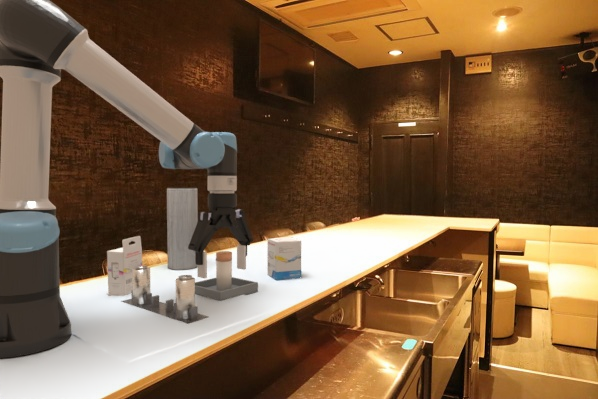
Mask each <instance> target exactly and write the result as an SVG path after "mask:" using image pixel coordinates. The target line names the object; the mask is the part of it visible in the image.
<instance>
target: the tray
mask: <svg viewBox="0 0 598 399" xmlns="http://www.w3.org/2000/svg"><path fill="white" fill-rule="evenodd" d="M258 292H259V283H258V281H253V280H248V279H242V278H238V277H234V276H232V289H228V290H224V291H217V290H216V277H211V278H209V279H208V278H207V279H204V280H200V281H195V296H198V297H199V296H200V297H204V298H208V299H211V300H215V301H220V302H222V301H225V300H229V299H232V298H233V299H234V298H237V297H240V296H247V295H250V294H255V293H258Z"/></svg>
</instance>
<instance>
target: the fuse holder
mask: <svg viewBox="0 0 598 399" xmlns="http://www.w3.org/2000/svg"><path fill="white" fill-rule="evenodd" d="M132 281H133V290H132V293H131V298H129V299H124V300H121V301H120V302H121V303H125V304H126V305H127V304H128V305H131V306H133V307H136V308H140V309H142V310H145V311H148V312H151V313H154V314H157V315H161V316H163V317H166V318H169V319H173V320H175V321H178V322H181V323H184V324H188V325H189V324H192V323H195V322H198V321H201V320H204V319H208V318H209V316H208V315H204V314H201V313H198V312H199V310H198V306H196V294H195V282H196V279H195V277H193V276H192V275H190V274H181V275H179V276H178V277H177V278H175V302H174V299H173V298H171V299H166V300H165V302H161V301H160V295H158V294H156V295H153V293H151V268H150V267H148V265H145V264H142V265H139V266H135V268H134V269H132Z"/></svg>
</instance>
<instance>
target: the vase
mask: <svg viewBox="0 0 598 399" xmlns="http://www.w3.org/2000/svg"><path fill="white" fill-rule="evenodd" d="M198 200H199V198H198V188H197V187H167V188H166V220H167V221H166V222H167V223H166V225H167V226H166V229H167V232H166V234H167V235H166V237H167V242H166V244H167V247H166V248H167V268H168V269H170V270H174V271H175V270H178V271H180V270H182V271H184V270H191V269H196V268H198V267H197V265H196V263H195V261H196V260H195V251H193V250H189V249H188V246H189V243H190V241H191V238H192V235H193V233H194V230H195V228H196V225H197V222H198V216H199V212H198V208H199V206H198V205H199V203H198Z"/></svg>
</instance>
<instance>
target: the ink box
mask: <svg viewBox="0 0 598 399" xmlns="http://www.w3.org/2000/svg"><path fill="white" fill-rule="evenodd" d="M267 276H269V277H270V278H272V279H274V280H276V281H280V280H292V278H295V279H301V278H302V240H300V239H298V238H294V237H293V236H292V237H290V236H289V237H288V236H287V237H285V236H283V237H274V238H267ZM300 277H301V278H300Z"/></svg>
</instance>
